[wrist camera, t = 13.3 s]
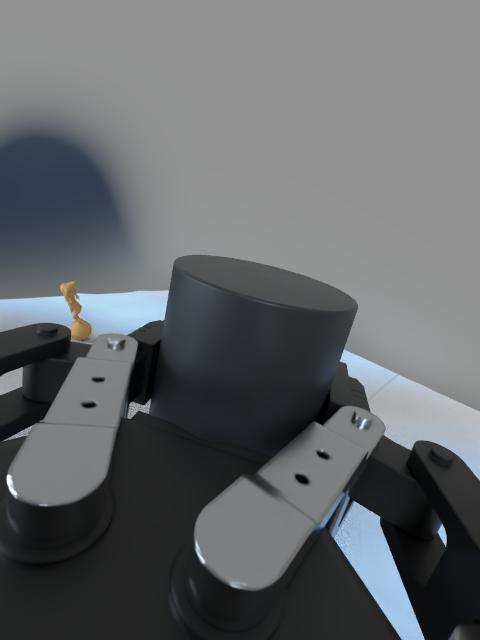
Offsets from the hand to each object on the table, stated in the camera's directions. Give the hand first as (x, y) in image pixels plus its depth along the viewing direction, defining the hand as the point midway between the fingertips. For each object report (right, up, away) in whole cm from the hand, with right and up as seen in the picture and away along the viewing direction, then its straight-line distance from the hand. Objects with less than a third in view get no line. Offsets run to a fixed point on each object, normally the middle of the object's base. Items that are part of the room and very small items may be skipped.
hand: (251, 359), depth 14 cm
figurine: (-34, -2, +56) cm, 65 cm away
